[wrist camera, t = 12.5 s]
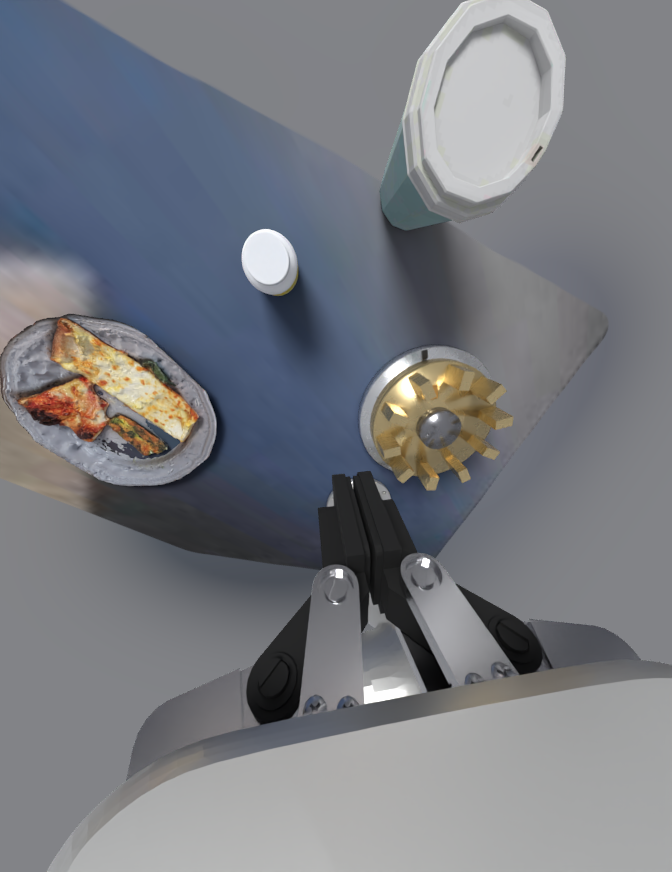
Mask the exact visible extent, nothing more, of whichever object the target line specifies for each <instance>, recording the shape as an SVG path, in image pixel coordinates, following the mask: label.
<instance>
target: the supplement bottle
mask: <svg viewBox="0 0 672 872" xmlns="http://www.w3.org/2000/svg"><path fill="white" fill-rule="evenodd" d="M242 265H243V269H244V272H245V274H246V276H247V278H248V280H249V281H250V282H251V284H252V285H253V286H254V287H255V288H257V289H258V290H260V291H261V292H264V293H266V294H270V295H274V296H282V295H285V294H287V293H289V292H290V291H291V290H292V289H293V288H294V286H295V285H296V283H297V279H298V262H297V257H296V254H295V251H294V249H293V247H292V245H291V244H290V242H289V241H288V240H287V239H286V238H285V237H284V236H283V235H281V234H280V233H278V232H276V231H273V230H269V229H263V230H259V231H256V232H254V233H253V234H251V235H250V236H249V237H248V239H247V240H246V242H245V244H244V246H243V250H242Z"/></svg>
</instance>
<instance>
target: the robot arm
mask: <svg viewBox="0 0 672 872" xmlns="http://www.w3.org/2000/svg"><path fill="white" fill-rule="evenodd" d="M332 484H333V491H332V492H331V494H330V496H329V497H328V501H327V507H321V508H318V515H319V527H320V540H321V552H322V564H323V569H322V570H321V571H320V572H318V574H317V575H316V577H315V579H314V582H313V586H312V595H311V596H310V597H309V598H308V600H307V601H306V602H305V603H304V604H303V606H302V607H301V608H300V609H299V610H298V612H297V613H296V614H295V615H294V616H293V618H292V619H291V620H290V621H289V622H288V624H287V625H286V626H285V627H284V628H283V630H282V631H281V632H280V633H279V635H278V636H277V637H276V638H275V639H274V641H273V642H272V643H271V644H270V645H269V647H268V648H267V649H266V650H265V651H264V653H263V654H262V655H261V656H260V657H259V659H258V660H257V662H256V663H255V664H254V665H253V666H250V667H248V668H246V669H244V670H242V671H241V670H240V668H239V669H236V670H234V671H232V672H230V673H228V674H225V675H223V676H221V677H219V678H217V679H214V680H212V681H210V682H208V683H205V684H203V685H201V686H199V687H197V688H194V689H192V690H190V691H188V692H186V693H183V694H181V695H179V696H177V697H175V698H172V699H170V700H168V701H166V702H165V703H163V704H162V705H160V706H159V707H158V708H156V709H155V710H154V711H153V712H152V714H151V715H150V716H149V717H148V718H147V719H146V721H145V722H144V724H143V726H142V727H141V729H140V731H139V732H138V735H137V738H136V741H135V744H134V747H133V751H132V755H131V760H130V765H129V770H128V774H127V780H126V782H125V783H123V784H122V785H121V786H119V787H118V788H116V789H115V790H114V791H113V792H112V793H111V794H110V795H108V796H107V797H106V798H105V799H104V800H103V801H102V802H101V803H100V804H99V805H97V806H96V807H95V808H94V809H93V810H92V811H91V812H90V814H88V816H86V818H85V819H84V820H83V821H82V822H81V823H80V824H79V825H78V826H77V828H76V829H75V830H74V831H73V833H72V834H71V835H70V836H69V838H68V839H67V841H66V842H65V844H64V845H63V846H62V848H61V849H60V851H59V852H58V854H57V855H56V857H55V858H54V860H53V861H52V863H51V865H50V866H49V868H48V870H47V872H672V665H670V664H665V663H661V662H654V661H646V660H641V659H640V658H639V656H638V655H637V654H636V653H635V651H634V650H633V649H632V648H631V647H630V646H629V645H628V644H627V643H626V642H625V641H623V640H622V639H621V638H620V637H619V636H617V635H616V634H614V633H612V632H610V631H609V630H607V629H605V628H601V627H598V626H593V625H583V624H574V623H564V622H554V621H544V620H534V619H529V620H528V622H523V621H520V620H519V619H518V618H516V617H515V616H513V615H511V614H509V613H508V612H506V611H504V610H502V609H500V608H499V607H497V606H495V605H493V604H491V603H490V602H488V601H486V600H484V599H483V598H481V597H479V596H477V595H475V594H474V593H472V592H470V591H468V590H466V589H464V588H463V587H461V586H459V585H458V584H455V583H454V581H453V580H452V578H451V577H450V575H449V574H448V573H447V571H446V570H445V568H444V567H443V566H442V565H441V564H440V563H439V561H438V560H436V559H435V558H433V557H432V556H429V555H427V554H423V553H417V550H416V548H415V546H414V544H413V542H412V540H411V537H410V535H409V533H408V531H407V529H406V526H405V524H404V522H403V520H402V518H401V516H400V513H399V511H398V509H397V507H396V505H395V503H394V501H393V500H392V499H391V497H390V493H389V491H388V489H387V488H386V487H385V485H384V484H382V483H381V482H379V481H377V480H375V479H373V476H372V474H371V472H370V471H365V472H358V473H357V476H353V479H350V477H345V474H338V475H332ZM367 623H369V624H370V625H371V626H373V627H374V629H372V630H369V631H366V632H365V633H362V631H363V630H364V628H365V626H366V625H367ZM361 633H362V634H361Z"/></svg>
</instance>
